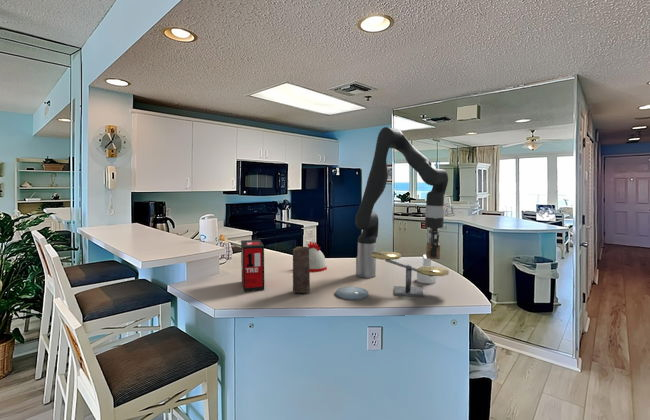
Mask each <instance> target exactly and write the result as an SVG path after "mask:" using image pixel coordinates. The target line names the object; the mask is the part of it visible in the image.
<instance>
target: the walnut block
mask: <svg viewBox="0 0 650 420" xmlns="http://www.w3.org/2000/svg"><path fill="white" fill-rule="evenodd" d="M433 245H436V243H433ZM425 246H426V249H425V252H426V253H425V255H426V257H427V259H431V260H440V259H441V244H440V242H438V248H437V256H436V257H431V243H429V242H426V245H425Z"/></svg>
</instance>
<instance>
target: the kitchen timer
mask: <svg viewBox="0 0 650 420" xmlns="http://www.w3.org/2000/svg"><path fill="white" fill-rule="evenodd" d="M307 247H309V269H310V273H317V272H318V273H319V272H324V270H325V271H327V268H328V267H327V266H328V265H327V260H326V257H325V255H324V253H323V252H322V251H321V246H319V244H317V242H315V241H312V242H311V241H309V243H307Z"/></svg>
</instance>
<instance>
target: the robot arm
mask: <svg viewBox="0 0 650 420" xmlns="http://www.w3.org/2000/svg"><path fill="white" fill-rule="evenodd" d="M389 149H395V150H396V151H398V152H400V153H401V155H403V156H404V158H405V160H406V163H407V164H408V165H409V166H410V167H411V168H412V169H413V170H414V171H416V172H417V173H418V176H419V177H420V178H421V180H422V181H423V182H424V183H425V184H426V185H427V186H432V187H431V188H432V189H431V190H430V191H428V192H427V194H426V198H425V199H426V201H425V202H426V203H425V205H426V206H425V212H424V213H425V214H424V227H425V228H428V232H427V233H428V243H431V257H436V256H437V248H438V243H440V242H439V239H440V238H439V237H440V232H439V230H438V229H443V228H444V220H445V219H444V217H445V209H444V207H445V206H444V203H445V201H444V200H445V194H446V190H447V187H448V185H449V184H448V183H449V175H448V173H447V171H446V170H445V169H443V168H434V167H433V166H432V162H431V160H430V159H429V158H428V157H426V156H425V155H424V154H423V153H421V152H420V151H419V150H418V149H417V148H416V147H414V146H413V144H412V143H411V142H410V141H409V140H408V138H407V137H406V136H405V134H404V133H403V132H402V131H401V130H400V129H398V128H392V127H389V126H384V127H382V128H381V129H380V130H379V132H378V135H377V138H376V144H375V151H374V154H373V159H372V163H371V167H370V170H369V174H368V177H367V180H366V183H365V184H366V185H365V189H364V192H363V196H362V199H361V202H360V204H359V207H358V209H357V211H356V214H355V219H354V223H355V226H356V228H357V229H359V230H360V231H362V232H361V234H360V235H358V238H357V256H356V257H355V275H356V276H358V277H360V278H365V279H366V278H368V279H369V278H374V277H376V273H377V271H376V270H377V269H376V268H377V267H376V265H377V264H376V263H377V262H376V261H377V259H376V258H373V257H371V253H372V252H377V238H378V234H379V216H378V214H377V212H376V211H373V209H374V206H375V204H376V203H377V201H378V200H379V199H380V197H381V196H382V194H383V193H384V191H385V189H386V186H387V182H388V178H389V169H388V164H387V157H388V153H389ZM433 243H436V245H433Z"/></svg>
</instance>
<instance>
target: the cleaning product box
mask: <svg viewBox="0 0 650 420" xmlns="http://www.w3.org/2000/svg"><path fill="white" fill-rule="evenodd" d="M240 251H241V252H240V253H241V255H240V257H241V261H240V262H241V284H242V291H243V293H247V292H248V293H249V292H250V293H251V292H258V291H261V292H262V291H265V245H264V243H263V242H262V241H261V239H248V240H247V239H246V240H245V239H244V240H240Z"/></svg>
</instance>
